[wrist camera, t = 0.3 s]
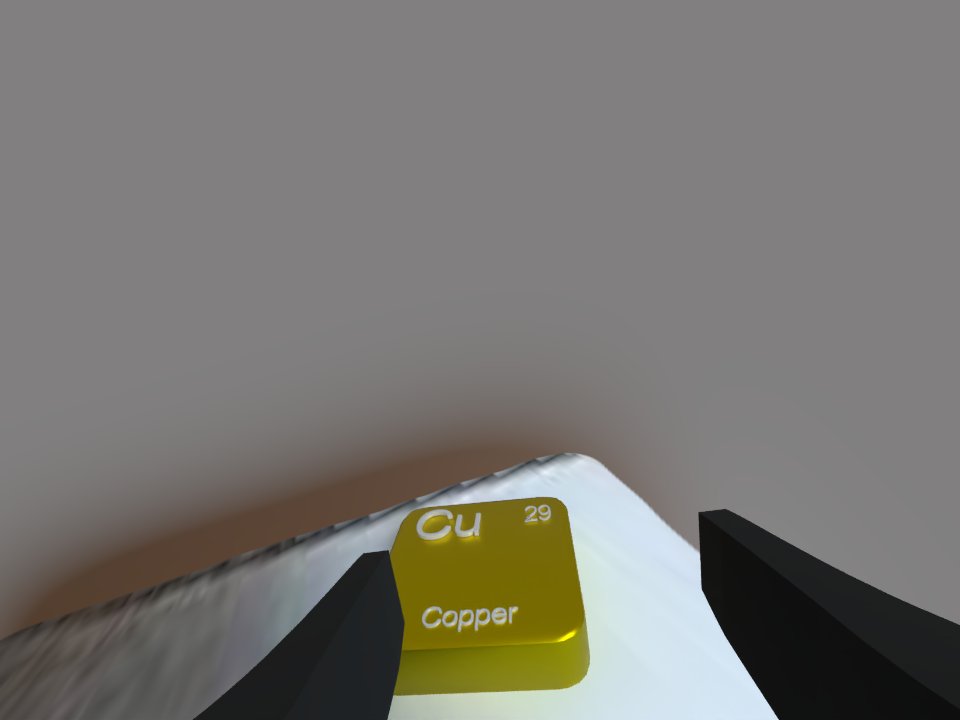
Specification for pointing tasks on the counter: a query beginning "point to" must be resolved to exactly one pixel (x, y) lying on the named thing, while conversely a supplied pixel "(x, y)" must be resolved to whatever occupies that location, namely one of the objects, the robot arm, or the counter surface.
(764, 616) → the robot arm
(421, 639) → the element tile
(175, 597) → the counter surface
